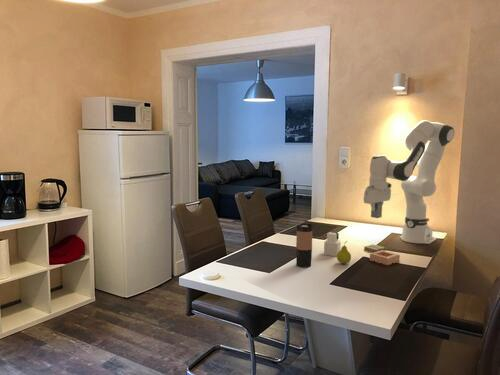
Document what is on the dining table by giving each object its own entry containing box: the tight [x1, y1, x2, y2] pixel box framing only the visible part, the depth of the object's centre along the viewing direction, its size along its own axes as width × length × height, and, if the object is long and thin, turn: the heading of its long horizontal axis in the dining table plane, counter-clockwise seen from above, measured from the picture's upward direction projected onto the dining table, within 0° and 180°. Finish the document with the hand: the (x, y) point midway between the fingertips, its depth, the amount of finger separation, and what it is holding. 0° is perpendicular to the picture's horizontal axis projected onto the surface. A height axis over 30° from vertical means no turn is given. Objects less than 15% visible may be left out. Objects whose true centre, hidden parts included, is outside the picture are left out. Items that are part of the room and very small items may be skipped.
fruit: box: [336, 240, 352, 265], centre depth 200 cm, size 7×7×12 cm
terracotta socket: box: [369, 250, 401, 266], centre depth 205 cm, size 10×10×4 cm
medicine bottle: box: [323, 231, 342, 257], centre depth 216 cm, size 7×7×12 cm
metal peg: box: [370, 202, 383, 219], centre depth 221 cm, size 4×4×8 cm
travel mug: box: [295, 223, 313, 268], centre depth 196 cm, size 8×8×20 cm
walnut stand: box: [363, 244, 386, 253], centre depth 224 cm, size 8×8×2 cm
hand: (376, 210), depth 221 cm, fingers closed on metal peg, 4 cm apart
